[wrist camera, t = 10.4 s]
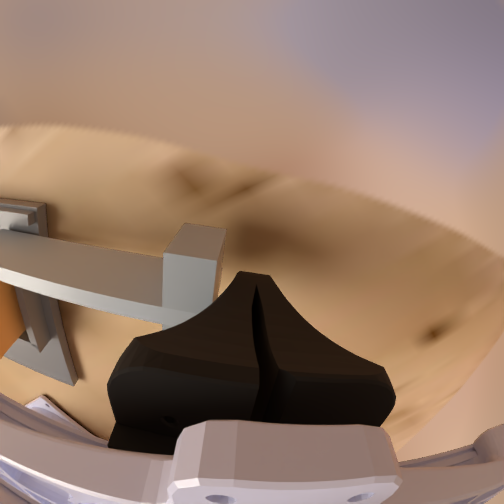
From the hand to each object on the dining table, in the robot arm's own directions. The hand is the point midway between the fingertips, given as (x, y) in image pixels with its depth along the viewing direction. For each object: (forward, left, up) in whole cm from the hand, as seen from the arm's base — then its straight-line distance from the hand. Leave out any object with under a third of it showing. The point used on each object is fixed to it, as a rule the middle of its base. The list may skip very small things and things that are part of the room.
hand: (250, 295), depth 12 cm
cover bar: (+6, +5, -1) cm, 8 cm away
